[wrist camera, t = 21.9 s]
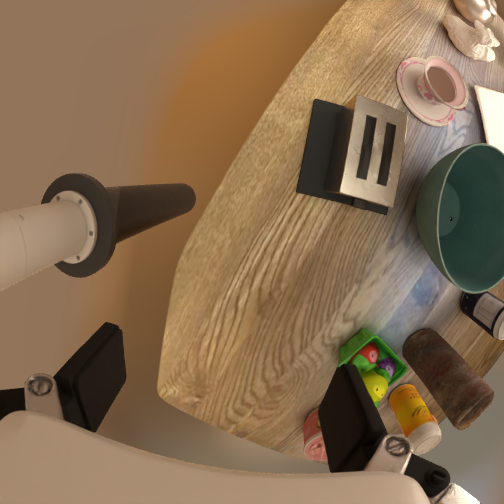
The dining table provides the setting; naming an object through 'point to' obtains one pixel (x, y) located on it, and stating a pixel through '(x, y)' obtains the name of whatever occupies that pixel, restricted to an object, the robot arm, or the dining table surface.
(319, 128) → the mat
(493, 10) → the cream glossy round piece
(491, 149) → the plant pot
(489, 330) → the beverage can
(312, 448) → the container
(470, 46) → the bust
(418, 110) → the teacup
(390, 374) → the fruit basket
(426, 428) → the beer can
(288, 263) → the dining table surface
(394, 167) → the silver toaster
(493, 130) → the plate
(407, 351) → the candle
